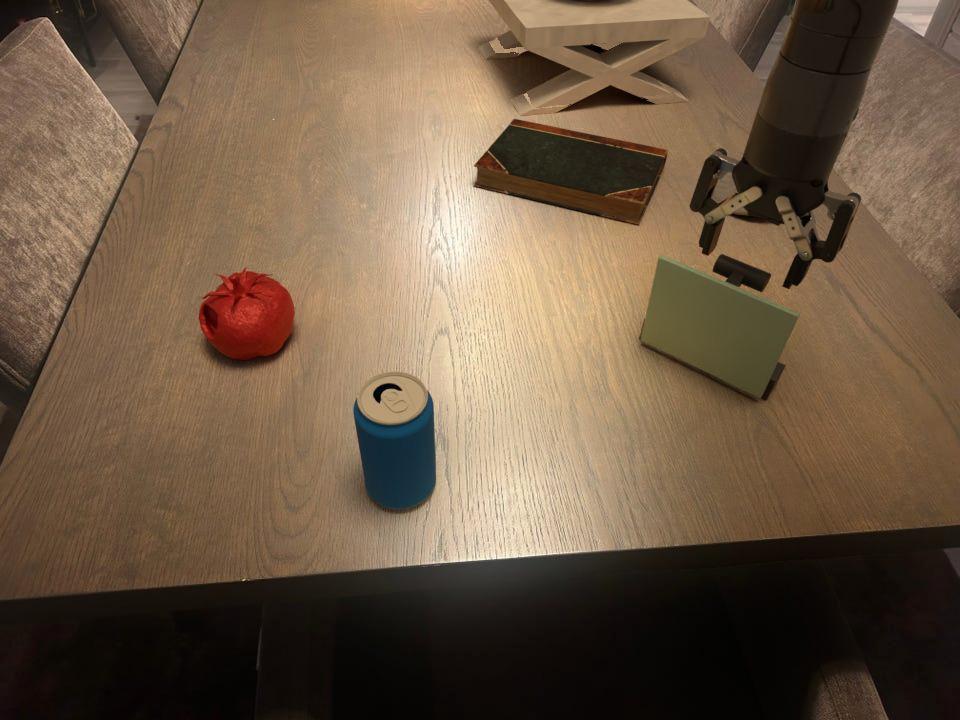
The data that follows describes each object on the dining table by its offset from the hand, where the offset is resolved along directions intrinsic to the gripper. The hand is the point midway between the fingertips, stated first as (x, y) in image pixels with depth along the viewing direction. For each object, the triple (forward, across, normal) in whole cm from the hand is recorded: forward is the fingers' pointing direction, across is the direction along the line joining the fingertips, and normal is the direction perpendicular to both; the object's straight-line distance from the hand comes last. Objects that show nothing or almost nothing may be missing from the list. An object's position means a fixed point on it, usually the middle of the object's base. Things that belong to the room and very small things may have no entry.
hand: (747, 267), depth 68 cm
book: (+11, -33, +21) cm, 41 cm away
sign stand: (+11, 0, -3) cm, 12 cm away
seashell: (+11, -10, +32) cm, 35 cm away
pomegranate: (+11, -41, -32) cm, 53 cm away
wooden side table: (+11, -54, +55) cm, 78 cm away
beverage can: (+11, -15, -36) cm, 41 cm away
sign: (+4, 0, -6) cm, 7 cm away
